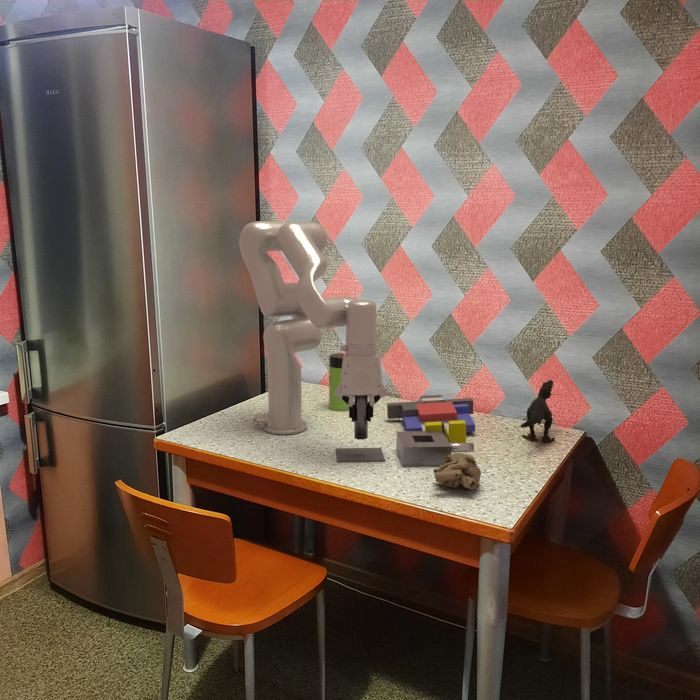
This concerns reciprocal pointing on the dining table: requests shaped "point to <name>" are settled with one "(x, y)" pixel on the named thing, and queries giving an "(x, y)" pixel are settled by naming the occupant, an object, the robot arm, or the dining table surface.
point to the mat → (360, 455)
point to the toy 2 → (540, 413)
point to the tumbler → (335, 382)
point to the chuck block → (426, 448)
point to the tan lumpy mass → (458, 471)
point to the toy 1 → (436, 416)
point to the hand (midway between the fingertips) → (361, 419)
